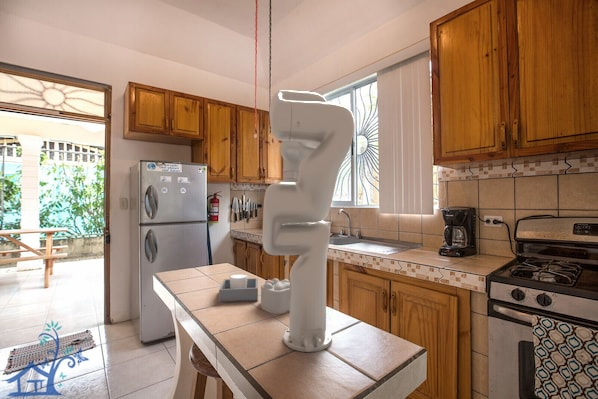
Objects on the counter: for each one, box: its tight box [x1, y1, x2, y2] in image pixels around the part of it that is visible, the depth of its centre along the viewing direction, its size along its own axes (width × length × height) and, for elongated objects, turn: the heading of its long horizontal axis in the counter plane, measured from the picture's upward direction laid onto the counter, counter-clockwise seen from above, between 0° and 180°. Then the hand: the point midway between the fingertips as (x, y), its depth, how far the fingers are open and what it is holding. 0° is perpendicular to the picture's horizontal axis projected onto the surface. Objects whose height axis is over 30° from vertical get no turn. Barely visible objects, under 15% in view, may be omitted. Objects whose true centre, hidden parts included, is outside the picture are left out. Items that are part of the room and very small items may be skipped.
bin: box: [218, 277, 259, 304], centre depth 104 cm, size 14×14×5 cm
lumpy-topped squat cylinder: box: [260, 277, 290, 315], centre depth 94 cm, size 10×13×9 cm
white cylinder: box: [229, 273, 249, 289], centre depth 103 cm, size 7×7×7 cm
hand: (292, 223), depth 100 cm, fingers open, 9 cm apart
